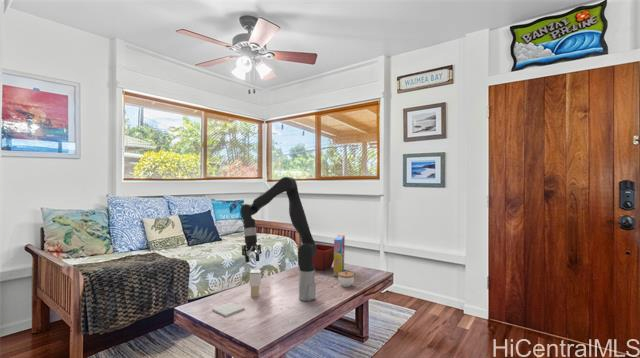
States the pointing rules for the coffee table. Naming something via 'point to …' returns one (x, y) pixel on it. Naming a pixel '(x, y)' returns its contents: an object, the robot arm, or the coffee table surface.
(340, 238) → the game box
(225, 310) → the grey mat
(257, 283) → the white rectangular block
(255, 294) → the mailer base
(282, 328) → the coffee table surface
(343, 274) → the lidded jar
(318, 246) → the plant pot
